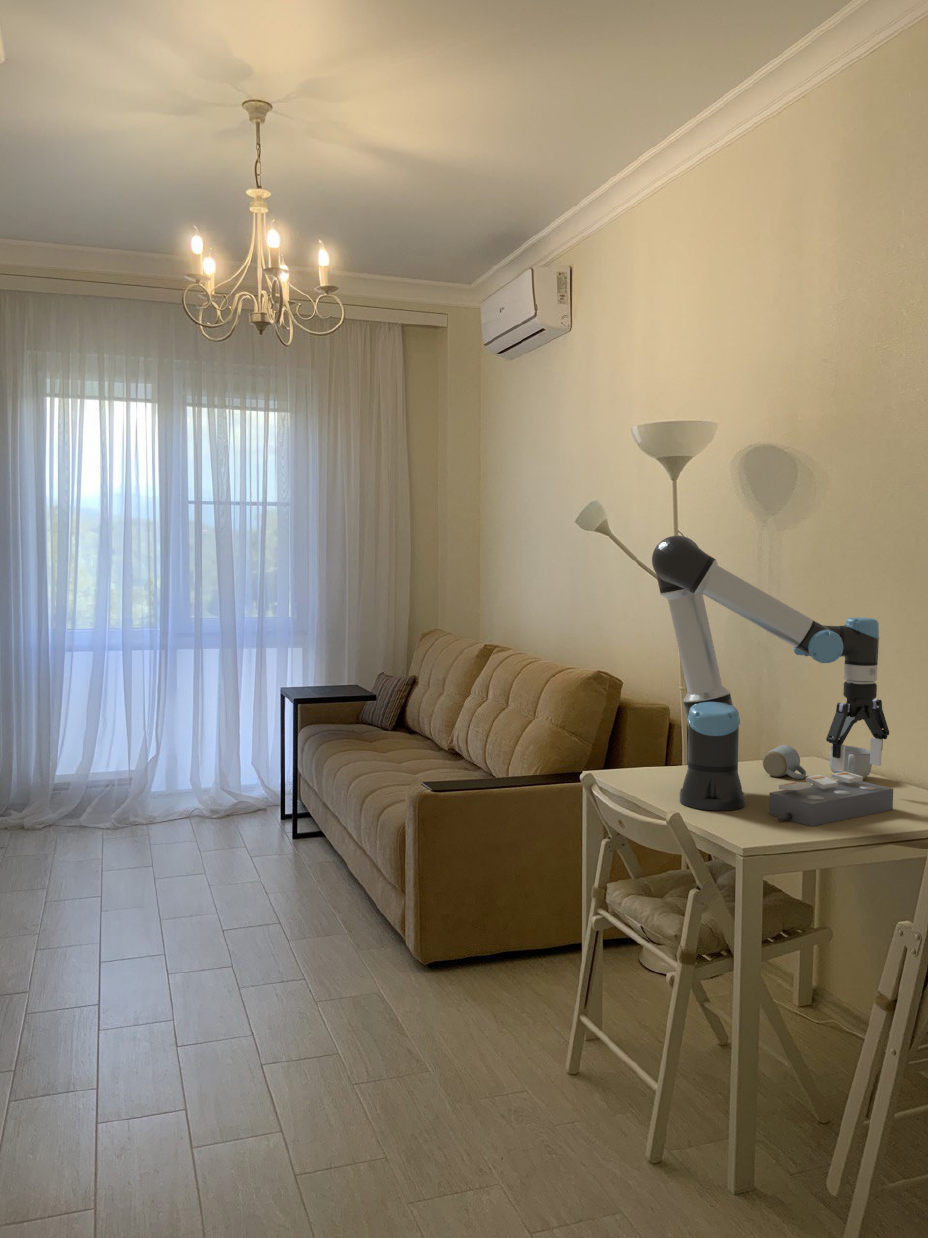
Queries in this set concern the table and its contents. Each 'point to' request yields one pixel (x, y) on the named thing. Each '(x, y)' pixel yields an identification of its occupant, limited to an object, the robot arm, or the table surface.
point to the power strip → (830, 802)
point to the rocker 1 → (794, 786)
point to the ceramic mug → (783, 762)
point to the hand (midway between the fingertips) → (857, 768)
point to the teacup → (854, 761)
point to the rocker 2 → (821, 781)
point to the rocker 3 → (846, 777)
